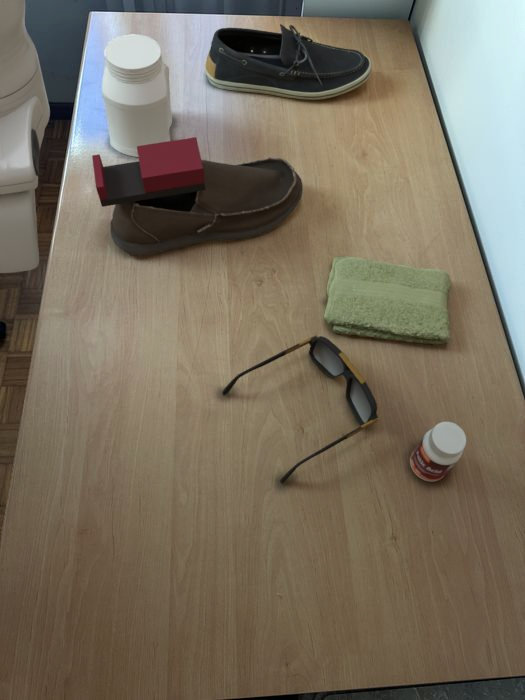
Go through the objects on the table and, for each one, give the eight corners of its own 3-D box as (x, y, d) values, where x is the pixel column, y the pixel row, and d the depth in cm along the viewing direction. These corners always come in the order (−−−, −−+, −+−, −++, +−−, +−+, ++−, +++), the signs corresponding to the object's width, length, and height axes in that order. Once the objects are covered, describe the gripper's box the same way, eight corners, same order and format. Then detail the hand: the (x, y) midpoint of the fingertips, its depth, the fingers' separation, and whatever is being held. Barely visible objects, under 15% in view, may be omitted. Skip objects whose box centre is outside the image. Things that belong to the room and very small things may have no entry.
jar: (115, 108, 112) (103, 25, 99) (172, 110, 113) (168, 28, 100) (109, 156, 106) (95, 74, 93) (169, 158, 107) (163, 78, 94)
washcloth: (329, 260, 98) (332, 246, 96) (447, 279, 98) (454, 266, 95) (320, 333, 91) (323, 320, 89) (447, 354, 91) (454, 342, 88)
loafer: (314, 219, 102) (324, 167, 93) (130, 280, 94) (121, 230, 85) (282, 172, 107) (288, 118, 98) (104, 226, 99) (93, 173, 90)
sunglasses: (221, 395, 85) (222, 376, 81) (318, 345, 90) (323, 325, 86) (280, 484, 80) (284, 469, 75) (380, 426, 85) (389, 408, 80)
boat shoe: (369, 107, 117) (381, 61, 109) (203, 96, 115) (202, 48, 107) (365, 68, 123) (376, 21, 115) (206, 57, 121) (206, 9, 113)
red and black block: (102, 207, 88) (95, 186, 85) (97, 173, 91) (91, 152, 88) (205, 190, 90) (203, 168, 86) (198, 158, 92) (195, 136, 89)
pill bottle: (402, 466, 82) (420, 438, 75) (422, 439, 84) (442, 410, 77) (434, 490, 81) (456, 465, 74) (454, 462, 83) (477, 435, 76)
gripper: (-56, 18, 55) (-11, 149, 66) (-63, 199, 44) (-9, 316, 56) (24, 14, 56) (54, 144, 67) (35, 190, 45) (67, 307, 57)
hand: (25, 223), depth 62 cm, fingers open, 8 cm apart
